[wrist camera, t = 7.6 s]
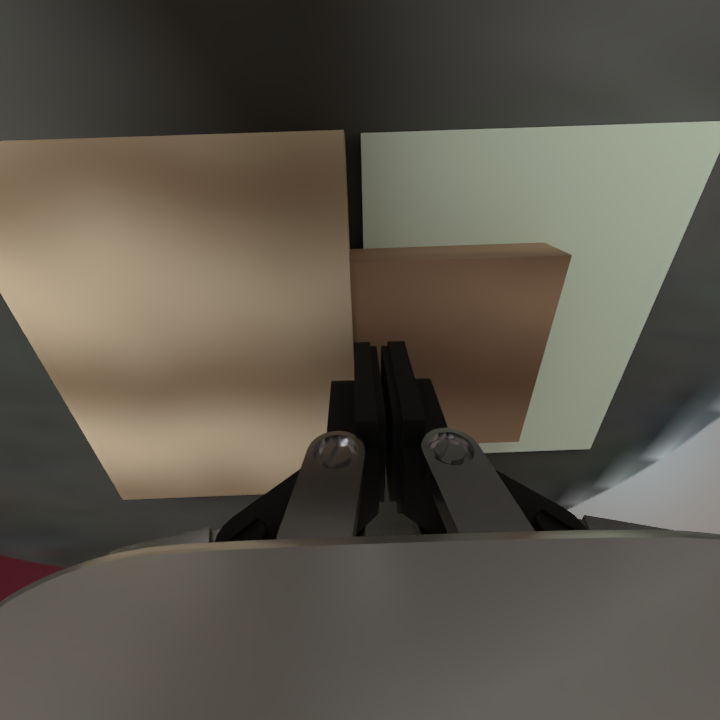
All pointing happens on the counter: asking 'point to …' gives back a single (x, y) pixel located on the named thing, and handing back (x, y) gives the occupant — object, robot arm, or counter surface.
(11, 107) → the counter surface
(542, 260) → the walnut block
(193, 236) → the birch board
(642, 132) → the sage mat
